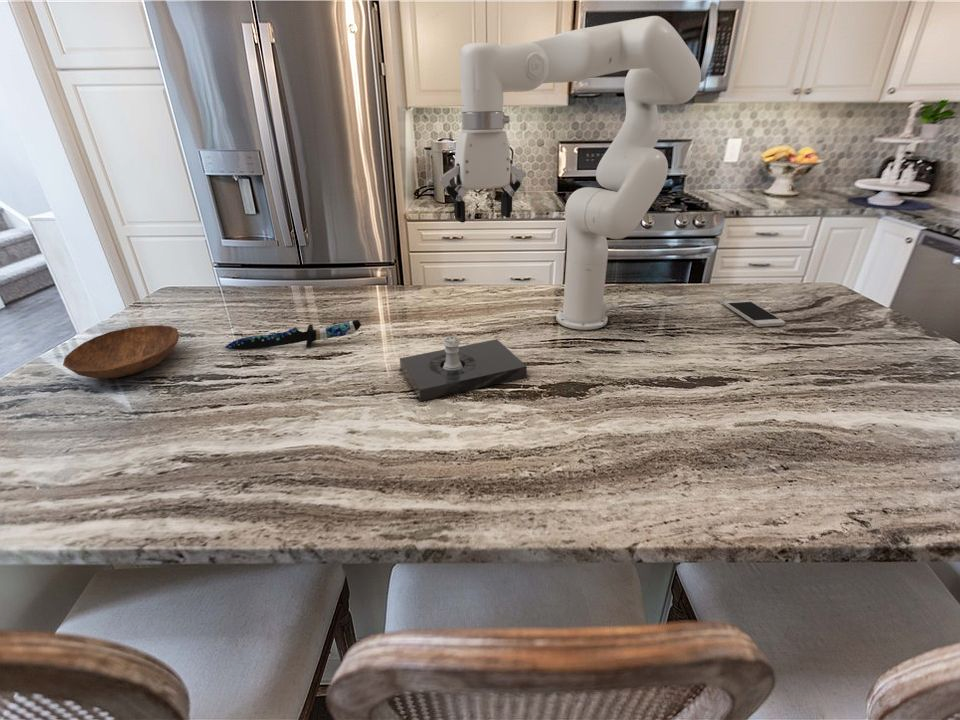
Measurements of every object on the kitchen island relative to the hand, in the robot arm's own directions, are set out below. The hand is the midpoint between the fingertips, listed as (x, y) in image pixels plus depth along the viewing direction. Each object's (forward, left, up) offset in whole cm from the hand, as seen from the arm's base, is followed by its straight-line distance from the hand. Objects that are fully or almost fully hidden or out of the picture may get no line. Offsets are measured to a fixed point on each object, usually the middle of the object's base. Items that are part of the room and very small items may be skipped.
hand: (483, 218), depth 98 cm
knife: (+39, -19, -28) cm, 52 cm away
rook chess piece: (+11, +9, -28) cm, 32 cm away
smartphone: (-69, +11, -28) cm, 75 cm away
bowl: (+72, -23, -28) cm, 81 cm away
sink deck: (+9, +9, -28) cm, 31 cm away
